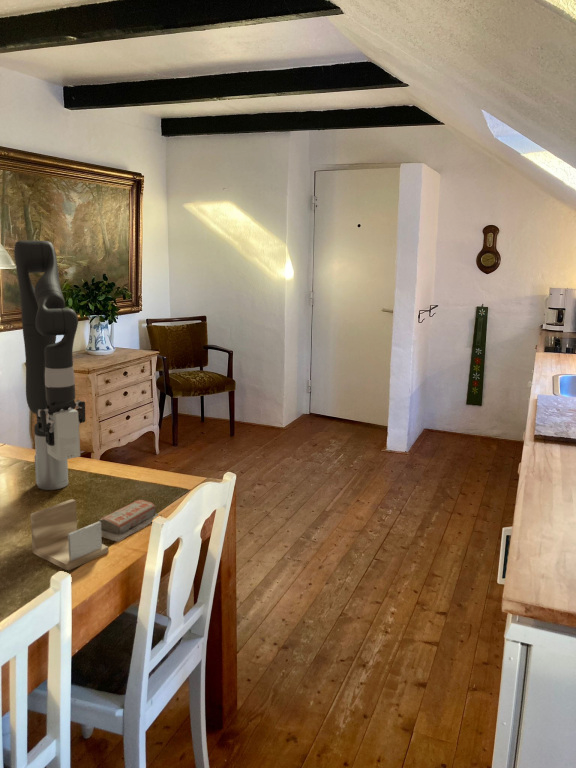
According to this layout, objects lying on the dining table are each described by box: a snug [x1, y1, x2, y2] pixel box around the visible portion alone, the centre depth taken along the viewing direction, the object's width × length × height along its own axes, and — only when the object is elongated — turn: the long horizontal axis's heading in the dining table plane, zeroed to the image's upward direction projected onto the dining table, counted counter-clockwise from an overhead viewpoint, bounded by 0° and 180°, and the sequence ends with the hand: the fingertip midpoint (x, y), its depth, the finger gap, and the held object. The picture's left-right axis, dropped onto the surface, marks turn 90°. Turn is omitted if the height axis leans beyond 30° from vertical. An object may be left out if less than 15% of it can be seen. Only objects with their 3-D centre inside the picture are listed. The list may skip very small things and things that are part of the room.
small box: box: [46, 408, 81, 461], centre depth 177 cm, size 8×6×13 cm
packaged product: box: [98, 499, 163, 543], centre depth 178 cm, size 18×5×10 cm
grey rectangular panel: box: [68, 520, 103, 562], centre depth 157 cm, size 1×9×7 cm, turn 144°
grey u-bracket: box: [30, 498, 110, 572], centre depth 161 cm, size 14×12×10 cm
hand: (63, 441), depth 177 cm, fingers closed on small box, 7 cm apart
